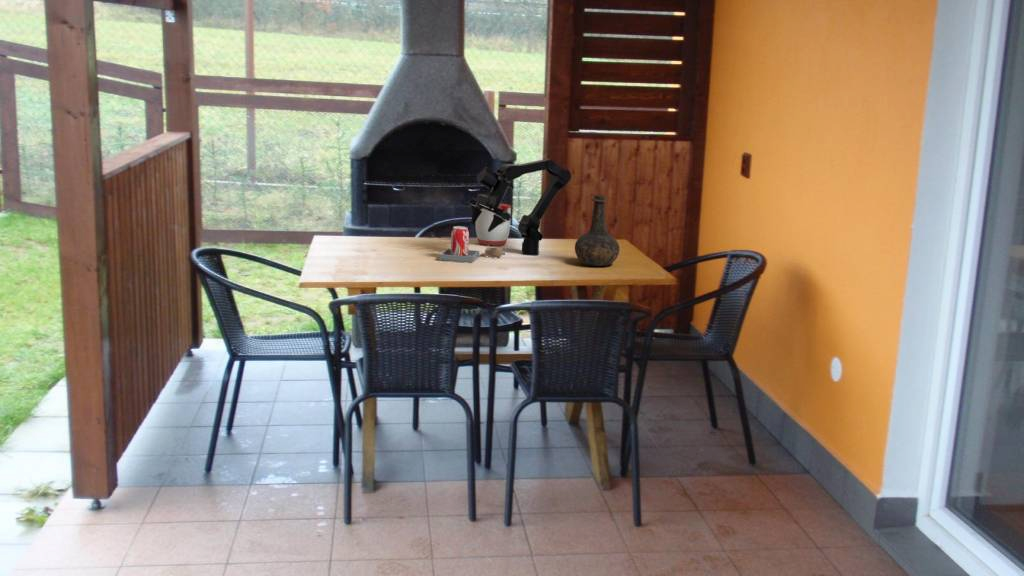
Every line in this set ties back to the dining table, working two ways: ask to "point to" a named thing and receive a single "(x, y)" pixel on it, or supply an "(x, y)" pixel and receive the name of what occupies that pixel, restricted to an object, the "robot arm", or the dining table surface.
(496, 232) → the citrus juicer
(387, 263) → the dining table surface
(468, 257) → the slate tray
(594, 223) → the glass bottle
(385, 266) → the dining table surface
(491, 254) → the brown block with knob
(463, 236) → the soda can
